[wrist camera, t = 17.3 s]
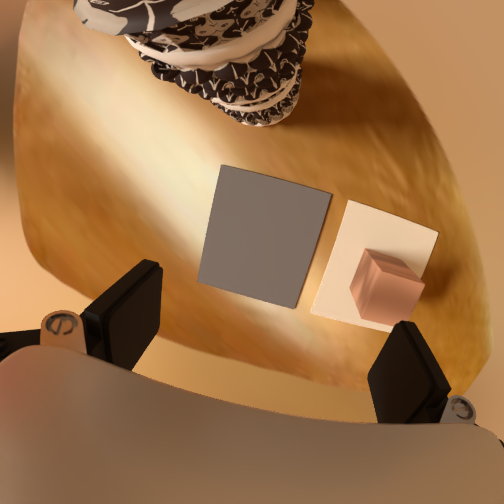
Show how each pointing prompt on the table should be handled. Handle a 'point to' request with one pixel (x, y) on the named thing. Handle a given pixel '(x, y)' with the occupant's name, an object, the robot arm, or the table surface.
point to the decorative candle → (216, 48)
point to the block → (385, 288)
